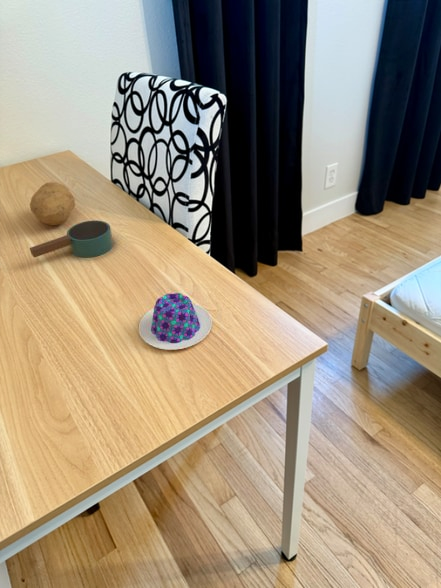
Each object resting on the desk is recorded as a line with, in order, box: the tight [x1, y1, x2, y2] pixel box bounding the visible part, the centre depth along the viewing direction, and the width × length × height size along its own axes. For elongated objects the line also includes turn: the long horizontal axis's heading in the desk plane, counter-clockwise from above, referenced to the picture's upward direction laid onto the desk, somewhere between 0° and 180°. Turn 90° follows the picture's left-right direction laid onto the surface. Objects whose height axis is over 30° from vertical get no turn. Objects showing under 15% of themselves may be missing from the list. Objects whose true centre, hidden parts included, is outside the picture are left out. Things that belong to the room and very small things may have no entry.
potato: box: [29, 181, 76, 226], centre depth 101 cm, size 10×14×8 cm
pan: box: [29, 220, 115, 259], centre depth 90 cm, size 17×9×4 cm, turn 129°
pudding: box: [138, 292, 213, 351], centre depth 69 cm, size 12×12×5 cm
